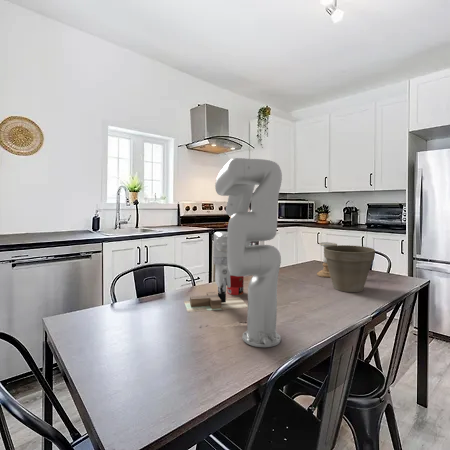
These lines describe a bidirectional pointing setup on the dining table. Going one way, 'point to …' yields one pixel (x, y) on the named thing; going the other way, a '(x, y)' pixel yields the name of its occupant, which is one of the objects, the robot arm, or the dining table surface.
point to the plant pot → (349, 266)
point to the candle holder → (325, 262)
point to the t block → (206, 300)
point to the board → (223, 305)
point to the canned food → (236, 285)
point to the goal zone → (201, 307)
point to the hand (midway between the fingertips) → (221, 301)
